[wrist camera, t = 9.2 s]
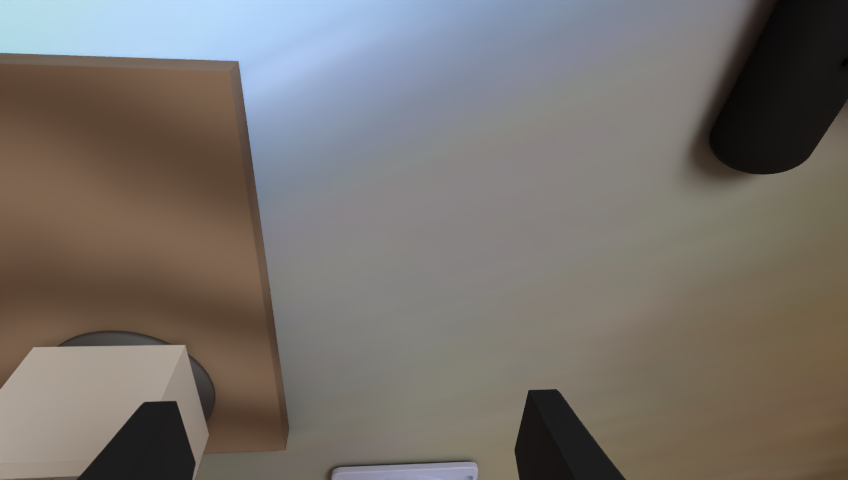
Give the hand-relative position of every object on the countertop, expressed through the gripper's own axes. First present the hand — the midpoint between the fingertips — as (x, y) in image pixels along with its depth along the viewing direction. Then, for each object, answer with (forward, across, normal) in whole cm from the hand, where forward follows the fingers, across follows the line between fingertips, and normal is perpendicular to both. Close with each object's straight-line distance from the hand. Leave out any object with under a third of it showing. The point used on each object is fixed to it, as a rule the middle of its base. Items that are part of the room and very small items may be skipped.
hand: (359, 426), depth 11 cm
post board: (+10, +10, +4) cm, 15 cm away
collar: (+8, +10, +8) cm, 16 cm away
